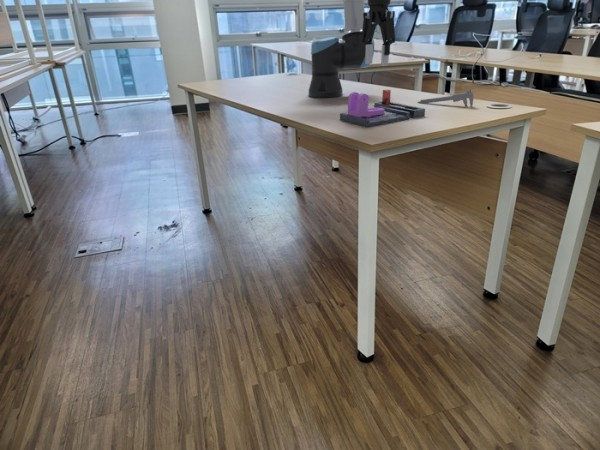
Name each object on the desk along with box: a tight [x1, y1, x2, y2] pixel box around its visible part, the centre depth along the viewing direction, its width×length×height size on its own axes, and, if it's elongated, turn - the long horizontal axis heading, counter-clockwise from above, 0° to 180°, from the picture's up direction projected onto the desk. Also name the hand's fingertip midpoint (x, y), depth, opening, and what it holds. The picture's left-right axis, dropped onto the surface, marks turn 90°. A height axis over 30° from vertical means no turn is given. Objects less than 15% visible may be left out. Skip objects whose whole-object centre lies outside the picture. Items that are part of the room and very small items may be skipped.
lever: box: [381, 89, 405, 108], centre depth 149 cm, size 10×3×6 cm, turn 31°
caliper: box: [416, 88, 475, 108], centre depth 157 cm, size 20×1×6 cm, turn 56°
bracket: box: [346, 91, 385, 117], centre depth 139 cm, size 13×6×7 cm, turn 124°
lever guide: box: [373, 101, 426, 119], centre depth 148 cm, size 20×5×2 cm, turn 31°
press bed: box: [339, 106, 410, 128], centre depth 140 cm, size 14×18×2 cm
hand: (376, 64), depth 152 cm, fingers open, 8 cm apart
